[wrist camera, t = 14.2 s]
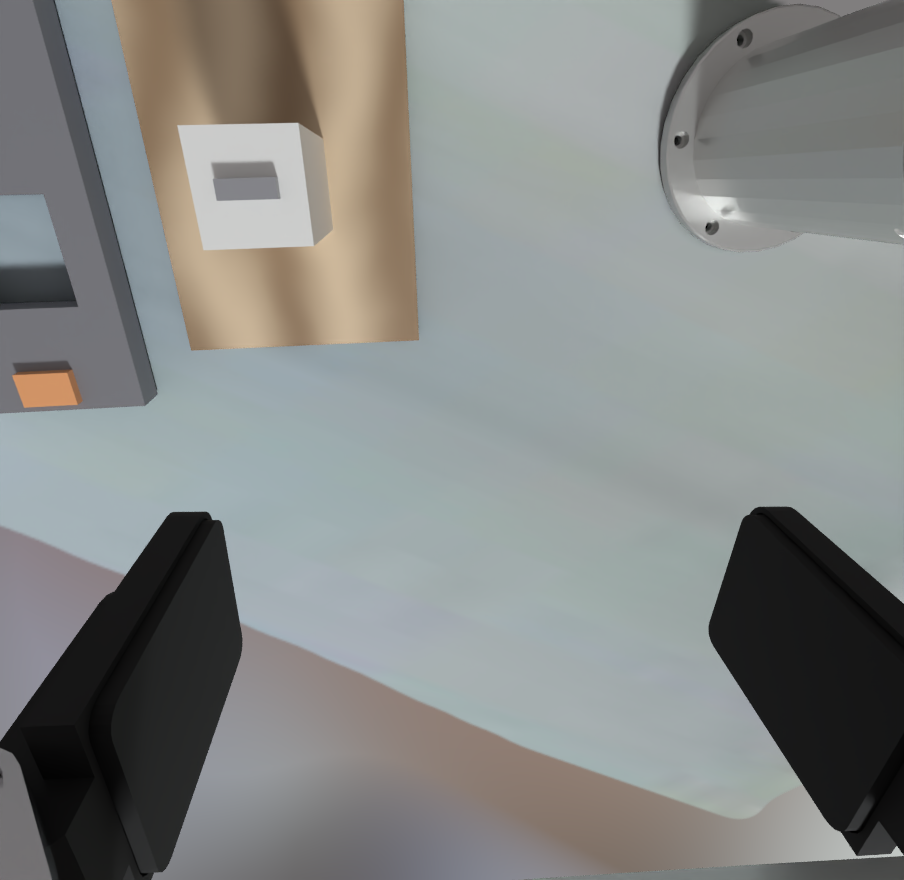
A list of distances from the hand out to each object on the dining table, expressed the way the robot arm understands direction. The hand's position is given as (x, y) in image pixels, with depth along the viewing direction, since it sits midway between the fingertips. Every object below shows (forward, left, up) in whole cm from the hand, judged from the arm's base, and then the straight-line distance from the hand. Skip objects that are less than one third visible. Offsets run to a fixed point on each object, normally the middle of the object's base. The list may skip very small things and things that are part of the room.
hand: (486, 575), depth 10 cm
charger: (+7, -6, -27) cm, 28 cm away
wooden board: (+7, -6, -27) cm, 29 cm away
